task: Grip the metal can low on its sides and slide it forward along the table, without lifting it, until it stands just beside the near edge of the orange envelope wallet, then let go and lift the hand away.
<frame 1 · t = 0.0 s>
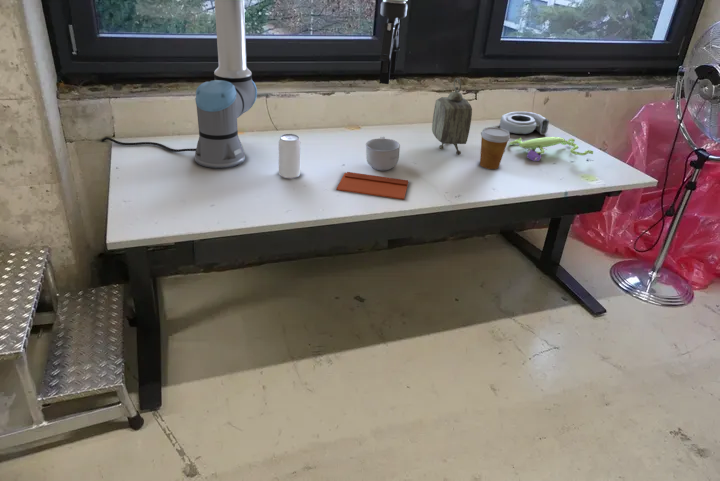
hand: (387, 78, 162), 28 cm above the table, tool pointing down, fingers open, 13 cm apart
turbocharger housing: (519, 130, 216), on the table
orange envelope wallet: (373, 186, 161), on the table
teacup: (381, 165, 176), on the table
figurine: (549, 154, 195), on the table
disposable coffee cup: (489, 166, 182), on the table
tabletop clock: (446, 149, 192), on the table
can: (289, 175, 165), on the table
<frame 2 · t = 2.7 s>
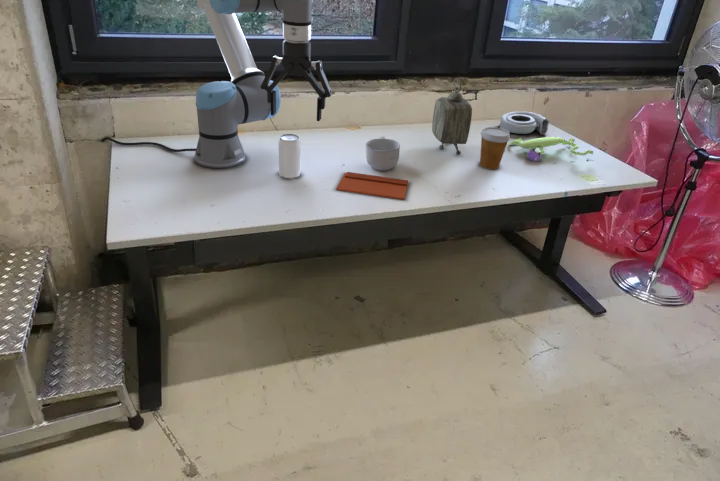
hand: (296, 117, 156), 18 cm above the table, tool pointing down, fingers open, 13 cm apart
nothing on the table moved.
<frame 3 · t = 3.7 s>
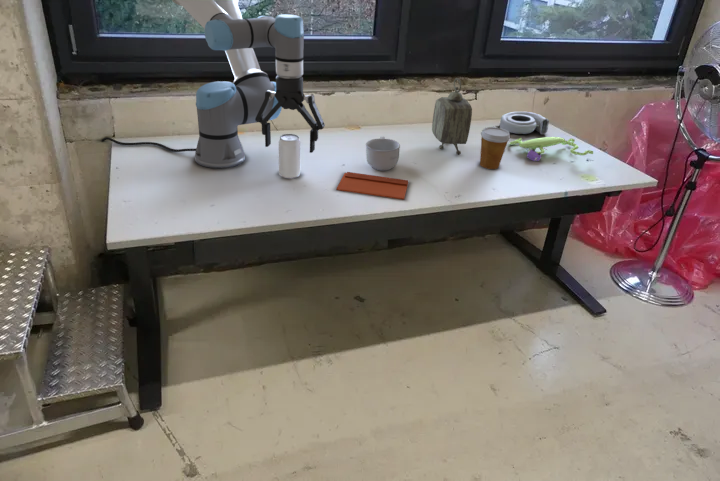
hand: (290, 148, 160), 9 cm above the table, tool pointing down, fingers open, 13 cm apart
nothing on the table moved.
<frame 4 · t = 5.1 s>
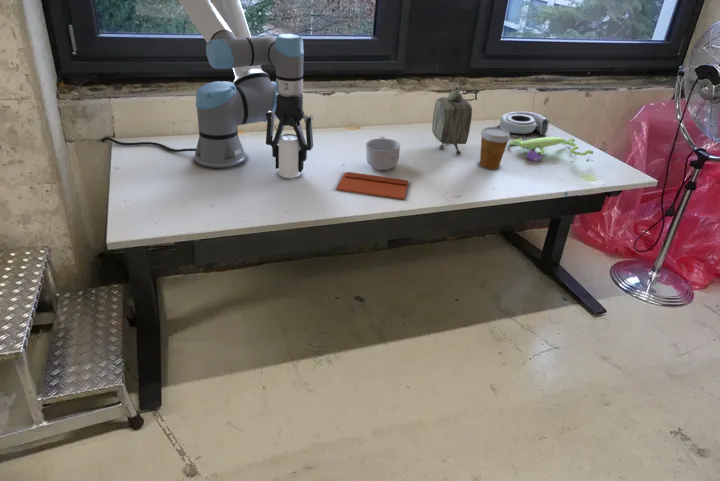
hand: (289, 168, 163), 2 cm above the table, tool pointing down, fingers closed on can, 6 cm apart
can: (289, 175, 165), on the table, touching gripper
everything else where it was.
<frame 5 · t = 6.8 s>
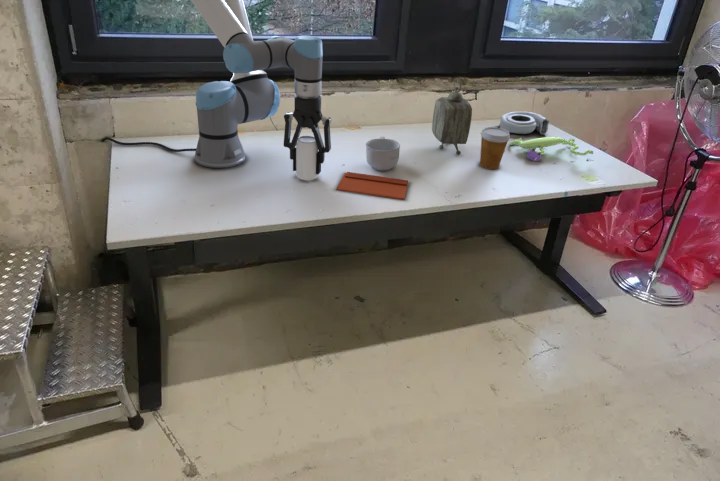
hand: (306, 170, 163), 2 cm above the table, tool pointing down, fingers closed on can, 6 cm apart
can: (306, 177, 164), on the table, touching gripper
everything else where it was.
when the fingers open (2 cm above the table, at t = 9.0 s): can stays where it is, on the table.
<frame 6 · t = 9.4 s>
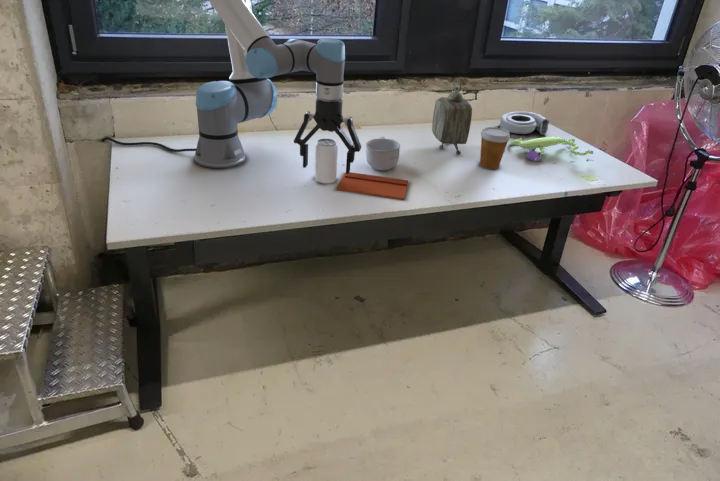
hand: (326, 169, 161), 4 cm above the table, tool pointing down, fingers open, 12 cm apart
can: (325, 180, 163), on the table
everything else where it was.
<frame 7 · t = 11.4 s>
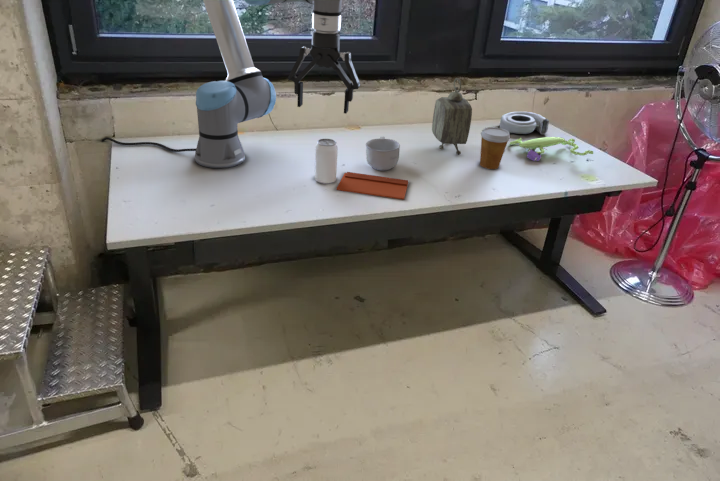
hand: (322, 108, 154), 21 cm above the table, tool pointing down, fingers open, 13 cm apart
nothing on the table moved.
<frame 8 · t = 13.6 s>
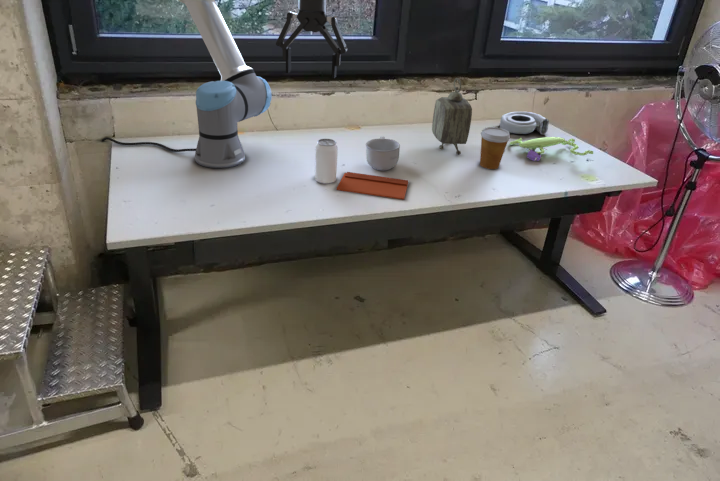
hand: (311, 74, 156), 29 cm above the table, tool pointing down, fingers open, 13 cm apart
nothing on the table moved.
at the end: can inside the target area on the table beside the orange envelope wallet (1.0 cm from its centre), on the table; can touching table; can tilted 0° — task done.
